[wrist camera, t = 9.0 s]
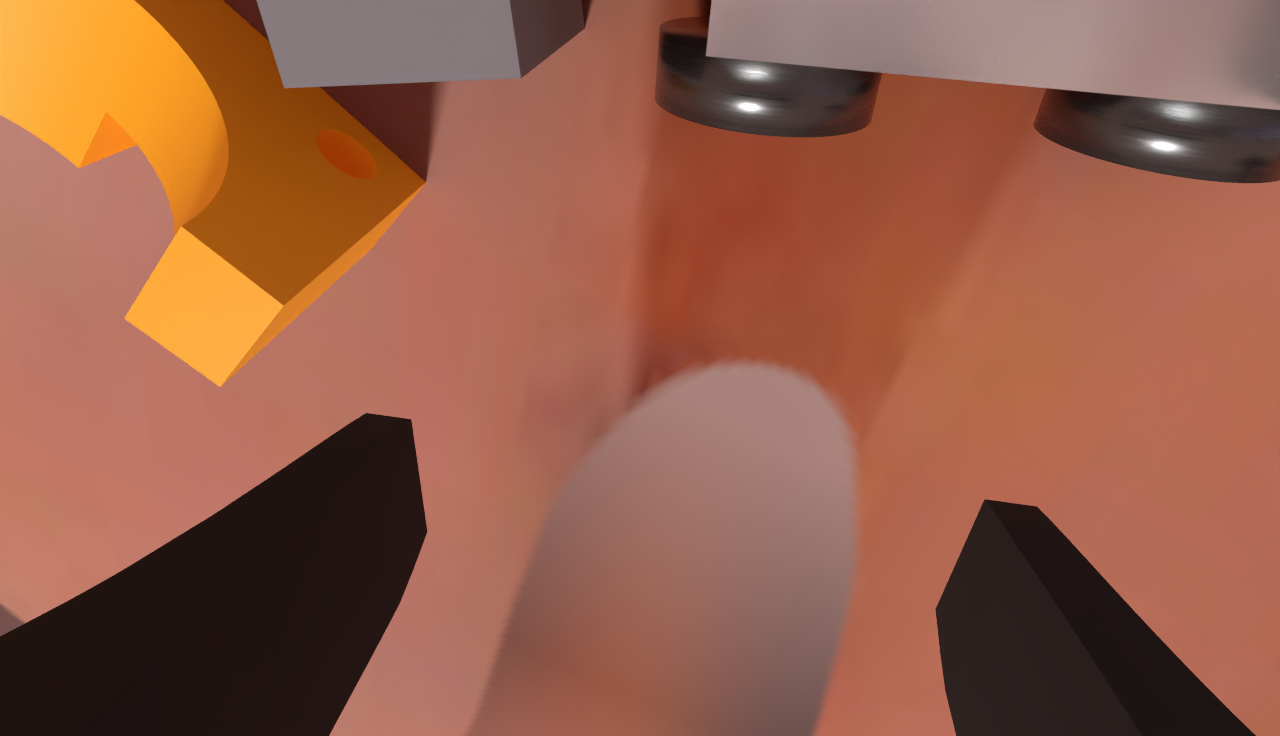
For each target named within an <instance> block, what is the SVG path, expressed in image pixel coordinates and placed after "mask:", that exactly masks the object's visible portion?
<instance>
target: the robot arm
mask: <svg viewBox="0 0 1280 736" xmlns="http://www.w3.org/2000/svg"><path fill="white" fill-rule="evenodd" d="M426 534H427V527H426V520H425V513H424V506H423V499H422V492H421V485H420V478H419V471H418V464H417V457H416V450H415V443H414V436H413V429H412V422H411V419H405V418H398V417H390V416H383V415H376V414H369V413H366V414H364V415H362V416H361V417H359V418H358V419H356V420H354V421H353V422H351V423H350V424H348V425H347V426H345V427H344V428H342V429H341V430H339V431H338V432H336V433H335V434H333V435H332V436H330V437H329V438H327V439H326V440H324V441H323V442H321V443H320V444H318V445H317V446H316V447H314V448H313V449H311V450H310V451H308V452H307V453H305V454H304V455H302V456H301V457H299V458H298V459H296V460H295V461H294V462H292V463H291V464H289V465H288V466H286V467H285V468H283V469H282V470H280V471H279V472H277V473H276V474H274V475H273V476H271V477H270V478H268V479H267V480H265V481H264V482H262V483H261V484H259V485H258V486H256V487H255V488H253V489H252V490H250V491H249V492H247V493H246V494H244V495H243V496H241V497H240V498H238V499H237V500H235V501H234V502H232V503H231V504H229V505H228V506H226V507H225V508H223V509H222V510H220V511H219V512H217V513H215V514H214V515H212V516H211V517H209V518H207V519H206V520H204V521H203V522H201V523H199V524H198V525H196V526H194V527H193V528H191V529H189V530H188V531H186V532H185V533H183V534H181V535H180V536H178V537H176V538H175V539H173V540H171V541H170V542H168V543H167V544H165V545H163V546H162V547H160V548H158V549H157V550H155V551H153V552H152V553H150V554H149V555H147V556H145V557H144V558H142V559H140V560H139V561H137V562H135V563H134V564H132V565H131V566H129V567H127V568H126V569H124V570H122V571H121V572H119V573H117V574H115V575H114V576H112V577H110V578H108V579H107V580H105V581H103V582H101V583H100V584H98V585H96V586H94V587H92V588H91V589H89V590H87V591H85V592H83V593H82V594H80V595H78V596H76V597H74V598H73V599H71V600H69V601H67V602H65V603H63V604H61V605H60V606H58V607H56V608H54V609H52V610H50V611H48V612H46V613H44V614H42V615H40V616H39V617H37V618H35V619H33V620H31V621H29V622H27V623H25V624H23V625H21V626H20V627H18V628H16V629H14V630H12V631H10V632H8V633H6V634H4V635H2V636H0V736H329V735H330V733H331V731H332V729H333V727H334V725H335V724H336V722H337V720H338V718H339V716H340V714H341V712H342V711H343V709H344V707H345V705H346V703H347V701H348V699H349V698H350V696H351V694H352V692H353V690H354V688H355V686H356V685H357V683H358V681H359V679H360V677H361V675H362V673H363V672H364V670H365V668H366V666H367V664H368V662H369V660H370V659H371V657H372V655H373V653H374V651H375V649H376V647H377V645H378V644H379V642H380V640H381V638H382V636H383V634H384V632H385V630H386V628H387V627H388V625H389V623H390V621H391V619H392V617H393V615H394V613H395V611H396V609H397V607H398V605H399V603H400V601H401V599H402V596H403V594H404V591H405V589H406V586H407V584H408V581H409V579H410V576H411V574H412V571H413V569H414V566H415V563H416V561H417V558H418V555H419V553H420V550H421V547H422V545H423V542H424V539H425V536H426ZM936 617H937V626H938V635H939V645H940V654H941V661H942V669H943V676H944V683H945V690H946V695H947V699H948V703H949V707H950V712H951V716H952V720H953V724H954V728H955V732H956V736H1256V735H1255V734H1254V733H1253V732H1251V731H1250V730H1249V729H1248V728H1247V727H1246V726H1245V725H1244V724H1243V723H1242V722H1241V721H1240V720H1239V719H1238V718H1237V717H1236V716H1235V715H1234V714H1233V713H1232V712H1231V711H1230V710H1229V709H1228V708H1227V707H1226V706H1225V705H1224V704H1223V703H1222V702H1221V701H1220V700H1219V699H1218V698H1217V697H1216V696H1215V695H1214V694H1213V693H1212V692H1211V691H1210V690H1209V689H1208V688H1207V687H1206V686H1205V685H1204V684H1203V683H1202V682H1201V681H1200V680H1199V679H1198V678H1197V677H1196V676H1195V675H1194V674H1193V673H1192V672H1191V671H1190V670H1189V668H1188V667H1187V666H1186V665H1185V664H1184V663H1183V662H1182V661H1181V660H1180V659H1179V658H1178V657H1177V656H1176V655H1175V654H1174V653H1173V652H1172V651H1171V650H1170V649H1169V648H1168V647H1167V646H1166V644H1165V643H1164V642H1163V641H1162V640H1161V639H1160V638H1159V637H1158V636H1157V635H1156V634H1155V633H1154V632H1153V631H1152V630H1151V629H1150V628H1149V626H1148V625H1147V624H1146V623H1145V622H1144V621H1143V620H1142V619H1141V618H1140V617H1139V616H1138V615H1137V614H1136V613H1135V611H1134V610H1133V609H1132V608H1131V607H1130V606H1129V605H1128V604H1127V603H1126V602H1125V601H1124V600H1123V598H1122V597H1121V596H1120V595H1119V594H1118V593H1117V592H1116V591H1115V590H1114V589H1113V588H1112V587H1111V585H1110V584H1109V583H1108V582H1107V581H1106V580H1105V579H1104V578H1103V577H1102V576H1101V575H1100V573H1099V572H1098V571H1097V570H1096V569H1095V568H1094V567H1093V566H1092V565H1091V564H1090V563H1089V561H1088V560H1087V559H1086V558H1085V557H1084V556H1083V555H1082V554H1081V553H1080V552H1079V551H1078V549H1077V548H1076V547H1075V546H1074V545H1073V544H1072V543H1071V542H1070V541H1069V540H1068V539H1067V537H1066V536H1065V535H1064V534H1063V533H1062V532H1061V531H1060V530H1059V529H1058V528H1057V527H1056V526H1055V525H1054V524H1053V523H1052V522H1051V520H1050V519H1049V518H1048V517H1047V516H1046V515H1045V514H1044V513H1043V512H1042V511H1041V510H1040V509H1039V508H1038V507H1035V506H1028V505H1021V504H1014V503H1007V502H1000V501H992V500H984V502H983V504H982V506H981V509H980V511H979V513H978V515H977V518H976V520H975V522H974V524H973V527H972V529H971V531H970V533H969V536H968V538H967V540H966V542H965V545H964V547H963V549H962V551H961V554H960V556H959V558H958V560H957V563H956V565H955V567H954V569H953V572H952V574H951V576H950V578H949V580H948V583H947V585H946V587H945V589H944V592H943V594H942V596H941V598H940V601H939V603H938V605H937V607H936Z"/></svg>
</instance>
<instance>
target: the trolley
mask: <svg viewBox="0 0 1280 736" xmlns="http://www.w3.org/2000/svg"><path fill="white" fill-rule="evenodd" d="M882 73H890V74H901V75H912V76H922V77H933V78H944V79H954V80H965V81H976V82H986V83H997V84H1008V85H1018V86H1029V87H1040V88H1046V91H1045V93H1044V96H1043V99H1042V102H1041V105H1040V107H1039V110H1038V113H1037V116H1036V119H1035V121H1034V127H1035V129H1036V130H1037V131H1038V132H1039V133H1040V134H1041V135H1043V136H1044V137H1046V138H1048V139H1049V140H1051V141H1053V142H1055V143H1057V144H1059V145H1061V146H1064V147H1066V148H1069V149H1071V150H1074V151H1077V152H1080V153H1083V154H1085V155H1088V156H1092V157H1095V158H1098V159H1101V160H1105V161H1109V162H1112V163H1116V164H1120V165H1124V166H1128V167H1132V168H1136V169H1141V170H1146V171H1151V172H1155V173H1161V174H1167V175H1172V176H1178V177H1185V178H1192V179H1199V180H1208V181H1218V182H1232V183H1264V182H1273V181H1279V180H1280V0H712V2H711V12H710V16H707V17H689V18H680V19H675V20H670V21H667V22H665V23H663V24H662V25H660V32H659V46H658V60H657V74H656V88H655V100H656V102H657V104H658V105H659V106H660V107H662V108H663V109H664V110H666V111H668V112H669V113H671V114H673V115H676V116H678V117H680V118H683V119H686V120H689V121H692V122H695V123H699V124H702V125H706V126H710V127H715V128H719V129H724V130H729V131H736V132H742V133H749V134H757V135H768V136H781V137H824V136H835V135H842V134H847V133H851V132H855V131H858V130H861V129H863V128H865V127H866V126H868V125H869V124H870V122H871V118H872V114H873V110H874V106H875V101H876V97H877V93H878V89H879V84H880V80H881V76H882Z"/></svg>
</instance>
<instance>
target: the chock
mask: <svg viewBox="0 0 1280 736" xmlns="http://www.w3.org/2000/svg"><path fill="white" fill-rule="evenodd" d="M256 1H257V4H258V7H259V10H260V13H261V17H262V20H263V23H264V26H265V29H266V32H267V35H268V39H269V42H270V45H271V48H272V51H273V54H274V57H275V61H276V64H277V67H278V70H279V73H280V76H281V80H282V83H283V86H284V88H302V87H325V86H349V85H372V84H395V83H419V82H442V81H466V80H489V79H513V78H522V77H523V76H524V75H526V74H527V73H528V72H530V71H531V70H532V69H533V68H535V67H536V66H537V65H539V64H540V63H541V62H542V61H544V60H545V59H546V58H547V57H549V56H550V55H551V54H553V53H554V52H555V51H556V50H558V49H559V48H560V47H562V46H563V45H564V44H565V43H567V42H568V41H569V40H570V39H572V38H573V37H574V36H576V35H577V34H578V33H579V32H581V31H582V30H583V29H585V26H584V16H583V6H582V0H256Z"/></svg>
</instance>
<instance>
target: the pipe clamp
mask: <svg viewBox="0 0 1280 736" xmlns="http://www.w3.org/2000/svg"><path fill="white" fill-rule="evenodd" d="M0 115H2V116H4V117H6V118H7V119H9V120H11V121H12V122H14V123H16V124H18V125H19V126H21V127H23V128H24V129H26V130H28V131H29V132H31V133H32V134H34V135H35V136H37V137H38V138H40V139H41V140H43V141H44V142H46V143H47V144H49V145H50V146H52V147H53V148H54V149H55V150H57V151H58V152H59V153H61V154H62V155H63V156H65V157H66V158H67V159H68V160H70V161H71V162H72V163H73V164H74V165H76V166H77V167H78V168H80V167H83V166H85V165H88V164H90V163H93V162H95V161H98V160H100V159H103V158H105V157H108V156H110V155H112V154H115V153H117V152H120V151H122V150H125V149H127V148H130V147H132V146H135V145H138V147H139V148H140V149H141V150H142V152H143V153H144V154H145V156H146V157H147V159H148V160H149V162H150V163H151V165H152V166H153V168H154V170H155V171H156V173H157V175H158V177H159V179H160V181H161V182H162V184H163V187H164V189H165V192H166V194H167V197H168V199H169V203H170V206H171V210H172V214H173V221H174V231H175V235H174V239H173V240H172V242H171V244H170V245H169V247H168V248H167V250H166V252H165V253H164V255H163V257H162V258H161V260H160V261H159V263H158V265H157V266H156V268H155V270H154V271H153V273H152V274H151V276H150V278H149V279H148V281H147V283H146V284H145V286H144V287H143V289H142V291H141V292H140V294H139V296H138V297H137V299H136V300H135V302H134V304H133V305H132V307H131V309H130V310H129V312H128V313H127V315H126V317H125V318H124V319H126V320H127V321H129V322H130V323H131V324H133V325H134V326H136V327H137V328H138V329H140V330H141V331H143V332H144V333H145V334H147V335H148V336H150V337H151V338H152V339H154V340H155V341H157V342H158V343H159V344H161V345H162V346H164V347H165V348H166V349H168V350H169V351H171V352H172V353H173V354H175V355H176V356H178V357H179V358H180V359H182V360H183V361H185V362H186V363H187V364H189V365H190V366H192V367H193V368H194V369H196V370H197V371H198V372H200V373H201V374H203V375H204V376H205V377H207V378H208V379H210V380H211V381H212V382H214V383H215V384H217V385H218V386H219V387H221V386H222V385H223V384H224V383H225V382H226V381H227V380H228V379H229V378H230V377H232V376H233V375H234V374H235V373H236V372H237V371H238V370H239V369H240V368H241V367H242V366H244V365H245V364H246V363H247V362H248V361H249V360H250V359H251V358H252V357H253V356H254V355H256V354H257V353H258V352H259V351H260V350H261V349H262V348H263V347H264V346H265V345H266V344H268V343H269V342H270V341H271V340H272V339H273V338H274V337H275V336H276V335H277V334H278V333H280V332H281V331H282V330H283V329H284V328H285V327H286V326H287V325H288V324H289V323H291V322H292V321H293V320H294V319H295V318H296V317H297V316H298V315H299V314H300V313H301V312H303V311H304V310H305V309H306V308H307V307H308V306H309V305H310V304H311V303H312V302H313V301H315V300H316V299H317V298H318V297H319V296H320V295H321V294H322V293H323V292H324V291H325V290H327V289H328V288H329V287H330V286H331V285H332V284H333V283H334V282H335V281H336V280H338V279H339V278H340V277H341V276H342V275H343V274H344V273H345V272H346V271H347V270H348V269H350V268H351V267H352V266H353V265H354V264H355V263H356V262H357V261H358V260H359V259H360V258H362V257H363V256H364V255H365V254H366V253H367V252H368V251H369V250H370V249H371V248H372V247H373V246H374V245H375V243H376V242H377V241H378V240H379V239H380V237H381V236H382V235H383V234H384V233H385V231H386V230H387V229H388V228H389V227H390V225H391V224H392V223H393V222H394V220H395V219H396V218H397V217H398V216H399V214H400V213H401V212H402V211H403V210H404V208H405V207H406V206H407V205H408V204H409V202H410V201H411V200H412V199H413V198H414V196H415V195H416V194H417V193H418V191H419V190H420V189H421V188H422V187H423V185H424V184H425V183H426V182H425V181H424V180H423V179H422V178H421V177H420V176H419V175H417V174H416V173H415V172H414V171H413V170H412V169H411V168H410V167H408V166H407V165H406V164H405V163H404V162H403V161H402V160H401V159H400V158H398V157H397V156H396V155H395V154H394V153H393V152H392V151H391V150H390V149H388V148H387V147H386V146H385V145H384V144H383V143H382V142H381V141H379V140H378V139H377V138H376V137H375V136H374V135H373V134H372V133H371V132H369V131H368V130H367V129H366V128H365V127H364V126H363V125H362V124H361V123H359V122H358V121H357V120H356V119H355V118H354V117H353V116H352V115H350V114H349V113H348V112H347V111H346V110H345V109H344V108H343V107H342V106H340V105H339V104H338V103H337V102H336V101H335V100H334V99H333V98H332V97H330V96H329V95H328V94H327V93H326V92H325V91H324V90H323V89H321V88H320V87H302V88H284V86H283V83H282V80H281V76H280V73H279V70H278V67H277V64H276V61H275V57H274V54H273V51H272V48H271V45H270V42H269V41H268V40H267V39H266V38H265V37H263V36H262V35H261V34H260V33H259V32H258V31H257V30H256V29H255V28H253V27H252V26H251V25H250V24H249V23H248V22H247V21H246V20H245V19H243V18H242V17H241V16H240V15H239V14H238V13H237V12H236V11H234V10H233V9H232V8H231V7H230V6H229V5H228V4H227V3H226V2H224V1H223V0H0Z"/></svg>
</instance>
